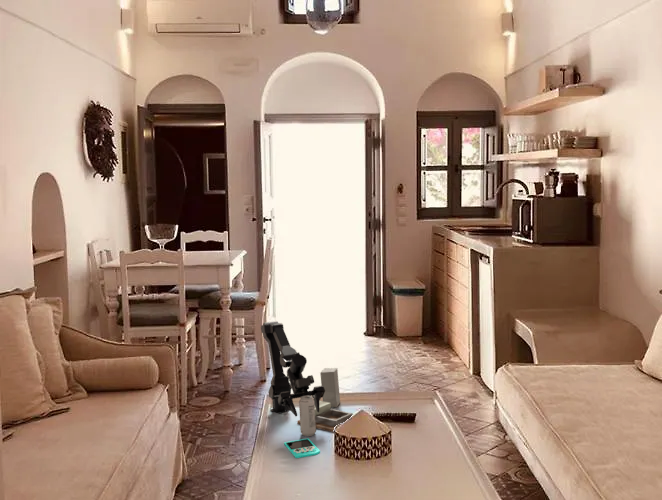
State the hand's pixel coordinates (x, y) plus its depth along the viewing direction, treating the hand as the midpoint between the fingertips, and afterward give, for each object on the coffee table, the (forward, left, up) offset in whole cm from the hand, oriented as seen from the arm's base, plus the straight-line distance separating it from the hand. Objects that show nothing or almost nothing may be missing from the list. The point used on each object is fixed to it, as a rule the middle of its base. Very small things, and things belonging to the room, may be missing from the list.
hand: (307, 413), depth 289 cm
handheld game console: (+8, -13, -9) cm, 17 cm away
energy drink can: (0, 0, -9) cm, 9 cm away
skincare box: (-16, +34, -9) cm, 39 cm away
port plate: (-2, +15, -8) cm, 18 cm away
